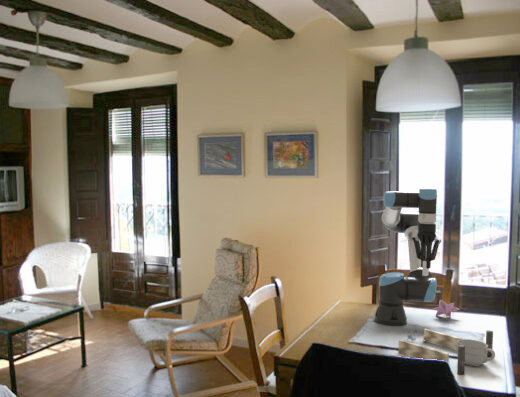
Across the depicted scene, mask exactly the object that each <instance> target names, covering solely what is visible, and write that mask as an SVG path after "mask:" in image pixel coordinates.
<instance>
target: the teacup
mask: <svg viewBox="0 0 520 397" xmlns="http://www.w3.org/2000/svg"><path fill="white" fill-rule="evenodd" d="M458 345H463V346H465V365H467V366H471V367H481V366H482V365H483V364H486V363H488V362H490V361H493V360H494V359H495V357H496V352H495V351H494V349H493V348H492V349H490V348H489V349H488V345H487V344H486V342H483V341H480V340H476V339H469V338H463V339H460V340H458V341H457V350H456V352H457V354H456V355H457V357H458ZM488 351H490V352H491V354H492V356H491V357H487V352H488Z"/></svg>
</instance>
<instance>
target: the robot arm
mask: <svg viewBox="0 0 520 397" xmlns="http://www.w3.org/2000/svg"><path fill="white" fill-rule="evenodd" d="M437 191H438V190H437V189H436V188H433V187H431V188H430V187H429V188H427V187H423V188H422V187H421V188H420V189H419V191H397V190H395V191H394V190H391V191H385V192H383V206H384V207H385V209H384V211H383V212H382V215H381V218H380V220H381V223H382V225H383V226H384V228H385V229H387V230H389V231H390V232H393V233H397V234H404V237H405V238H406V239H407V243H408V244H407V245H408V247H407V248H408V257H409V258H408V260H409V272H408V273H407V276H405V274H404V273H403V272H398V271H397V272H394V271H393V272H387V273H386V272H385V273H383V274H381V275H380V277H379V282H378V286H379V287H378V305H377V308H376V311H375V313H374V321H375V322H376V323H378V324H382V325H386V326H403V325H405V324H407V322H408V317H407V315H406V310H405V307H404V302H421V303H432V302H433V301H434V300H435V299H436V292H437V286H438V285H437V283H438V282H437V281H438V280H437V278H436V277H433V273H432V272H431V271H430V270H429V269H431V264H432V261H435V260H436V256H437V254H438V250H439V246H440V244H441V243H442V239H439V238H438V237H437V235H436V233H437V232H436V231H437V229H436V228H437V224H436V223H437V204H438V203H437V202H438V201H437V200H438V192H437ZM403 208H406V209H408V208H409V209H410V208H413V209H418V211H402V209H403Z"/></svg>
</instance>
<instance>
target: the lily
mask: <svg viewBox="0 0 520 397" xmlns="http://www.w3.org/2000/svg"><path fill="white" fill-rule="evenodd" d="M432 310H434V311H437V312H436V313H435V316H436V317H438V316H441V315H446V320H447V322H448V321H449V318H451V316H452V312H456V311H460V308H459V307H457V306H455V302H451V303H447V302H446V301H444V300H443V299H440V300H439V302H438V306H436V307H433V308H432ZM448 317H449V318H448Z"/></svg>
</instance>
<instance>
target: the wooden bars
mask: <svg viewBox="0 0 520 397" xmlns="http://www.w3.org/2000/svg"><path fill="white" fill-rule="evenodd" d="M485 335H486V336H485V337H486V338H485V343H486V344H487V345H488V349H489V348H490V349H492V350H493V348H494V346H493V344H494V343H493V342H494V339H493V338H494V331H493V330H488V329H487V330H486V331H485ZM460 339H464V338H463V337H458V336H455V335H451V334H448V333H443V332H439V331H435V330H432V329H429V328H424V329H423V341H424V340H425V341H427V342H426V343H430V344H433V345H437V346H439V347H443V346H444V348H448V349H451V350H455V351H457V341H458V340H460ZM425 341H424V342H425ZM397 348H398V354H400V355H401V354H402V355H405V356H408V357H411V358H413V359H414V358H415V359H417V358H423V359H437V360H444V361H447V362H449V360H450V358H449V357H450V353H449V352H446V351H442V350H438V349H436V348H431V347H428V346H425V345H422V344H417V343H414V342H411V341H406V340H403V339H398V347H397ZM491 356H492V354H491V352H490V351H488V352H487V358H490V357H491ZM449 363H450V362H449ZM465 370H466V364H465V346H463V345H458V356H457V370H456V371H457V372H456V373H457V375H460V376H464V375H465V374H466V373H465Z"/></svg>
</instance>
